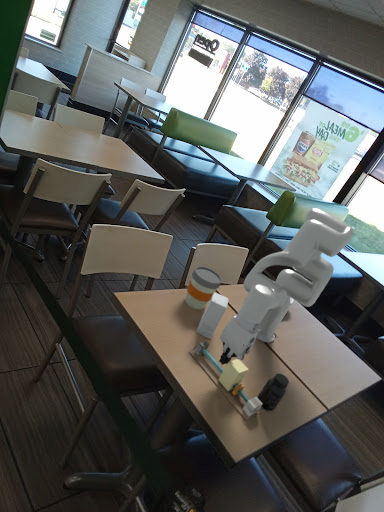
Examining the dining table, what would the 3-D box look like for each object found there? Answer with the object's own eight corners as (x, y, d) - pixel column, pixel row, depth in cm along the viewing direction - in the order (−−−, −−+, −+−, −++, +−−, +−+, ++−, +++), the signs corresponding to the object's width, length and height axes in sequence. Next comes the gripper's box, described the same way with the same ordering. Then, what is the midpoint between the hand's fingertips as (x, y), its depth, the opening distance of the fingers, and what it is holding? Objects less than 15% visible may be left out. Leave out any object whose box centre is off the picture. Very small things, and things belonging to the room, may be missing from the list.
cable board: (204, 348, 143) (209, 338, 141) (260, 412, 126) (267, 402, 124) (189, 352, 137) (194, 342, 136) (245, 420, 120) (252, 410, 118)
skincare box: (210, 340, 149) (227, 308, 142) (194, 332, 149) (211, 301, 142) (213, 328, 156) (229, 298, 150) (198, 321, 157) (214, 290, 150)
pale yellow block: (227, 376, 133) (238, 358, 130) (237, 387, 130) (248, 369, 127) (218, 379, 130) (228, 361, 126) (227, 391, 127) (239, 373, 123)
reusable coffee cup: (199, 315, 160) (213, 286, 154) (175, 298, 164) (189, 269, 158) (212, 306, 171) (227, 279, 165) (190, 290, 175) (203, 263, 169)
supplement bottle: (254, 393, 133) (270, 368, 128) (271, 397, 134) (288, 373, 129) (258, 409, 127) (276, 384, 122) (277, 413, 128) (294, 389, 123)
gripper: (270, 334, 120) (245, 376, 128) (239, 304, 129) (216, 344, 136) (256, 338, 115) (230, 381, 122) (224, 306, 124) (201, 348, 131)
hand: (223, 362), depth 129 cm, fingers closed
